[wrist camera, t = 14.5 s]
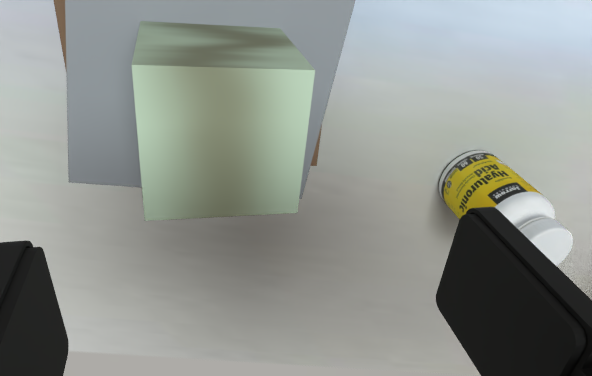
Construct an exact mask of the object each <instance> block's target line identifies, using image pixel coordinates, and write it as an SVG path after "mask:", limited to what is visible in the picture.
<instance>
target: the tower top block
mask: <svg viewBox="0 0 592 376" xmlns="http://www.w3.org/2000/svg"><path fill="white" fill-rule="evenodd" d="M354 4H355V0H65V20H66V70H67V120H68V169H69V182H72V183H86V184H100V185H114V186H128V187H142V182H141V171H140V159H139V147H138V135H137V123H136V112H135V100H134V88H133V76H132V60H133V55H134V51H135V46H136V41H137V36H138V31H139V26H140V21H149V22H168V23H187V24H206V25H226V26H245V27H264V28H280V29H281V30H282V31H283V32H284V34H285V35H286V36H287V37H288V38H289V39H290V41H291V42H292V43H293V44H294V45H295V47H296V48H297V49H298V50H299V51H300V53H301V54H302V55H303V56H304V57H305V59H306V60H307V61H308V62H309V63H310V65H311V66H312V67H313V68H314V69H315V76H314V84H313V92H312V100H311V108H310V116H309V124H308V132H307V140H306V148H305V156H304V164H303V172H302V180H301V188H300V196H299V199H301V198H302V195H303V191H304V187H305V183H306V180H307V176H308V172H309V169H310V165H311V161H312V158H313V154H314V150H315V147H316V143H317V139H318V136H319V132H320V128H321V125H322V121H323V117H324V114H325V110H326V106H327V103H328V99H329V95H330V92H331V88H332V84H333V81H334V77H335V73H336V70H337V66H338V62H339V59H340V55H341V51H342V48H343V44H344V40H345V37H346V33H347V29H348V26H349V22H350V18H351V15H352V11H353V7H354Z"/></svg>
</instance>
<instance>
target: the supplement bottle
mask: <svg viewBox="0 0 592 376" xmlns="http://www.w3.org/2000/svg"><path fill="white" fill-rule="evenodd" d="M439 192H440V195H441V197H442V199H443V200H444V202H445V203H446V204H447V206H448V207H449V208H450V209H451V210H452V211H453V212H454V214H455V215H456V216H457V217H458V218H459V219H460V218H461V217H462V216H463V215H465V214H466V212H467V211H468V210H469V209H471V208H479V207H495V208H496V209H498V210H499V211H500V212H501V213H502V214H503V215H504V216H505V217H506V218H507V219H508V220H509V221H510V222H511V223H512V224H513V225H514V226H515V227H516V228H518V229H519V230H520V231H521V232H522V233H523V234H524V235H525V236H526V237H527V238H528V239H529V240H530V241H531V242H532V243H533V244H534V245H535V246H536V247H537V248H538V249H539V250H540V251H541V252H542V253H543V254H544V255H545V256H546V257H547V258H548V259H549V260H551V261H552V262H553V263H554V264H555V265H556V266H558V265H559V264H560V263H561V262H562V261H563V260H564V259H565V258H566V257H567V255H568V254H569V252H570V250H571V248H572V245H573V237H572V234H571V233H570V232H569V231H568V230H567V229H566V228H565V227H564V226H563V225H562V224H561V223H560V222H559V221H557V220H555V211H554V208H553V206H552V204H551V203H550V202H549V200H548V199H546V198H545V197H544V196H543V195H542V194H541V193H540V192H538V191H537V190H536V189H535V188H533V187H532V186H531V185H530V184H529V183H527V182H526V181H525V180H524V179H523V178H521V177H520V176H519V175H518V174H517V173H515V172H514V171H513V170H512V169H510V168H509V167H508V166H507V165H506V164H504V163H503V162H502V161H501V160H499V159H498V158H497V157H495V156H494V155H493V154H491V153H489V152H486V151H480V150H479V151H471V152H467V153H465V154H463V155H461V156H459V157H458V158H456V159H455V160H454V161H452V162H451V163H450V164H449V165H448V167H447V168H446V169H445V171H444V172H443V174H442V176H441V179H440V182H439Z"/></svg>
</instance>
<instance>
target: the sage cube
mask: <svg viewBox="0 0 592 376" xmlns="http://www.w3.org/2000/svg"><path fill="white" fill-rule="evenodd" d="M132 76H133V88H134V100H135V112H136V123H137V135H138V147H139V159H140V171H141V182H142V194H143V206H144V218H145V221H151V220H170V219H190V218H210V217H229V216H249V215H268V214H288V213H297V212H298V204H299V196H300V188H301V180H302V172H303V164H304V156H305V148H306V140H307V132H308V124H309V116H310V108H311V100H312V92H313V84H314V76H315V69H314V68H313V67H312V66H311V65H310V63H309V62H308V61H307V60H306V59H305V57H304V56H303V55H302V54H301V53H300V51H299V50H298V49H297V48H296V47H295V45H294V44H293V43H292V42H291V41H290V39H289V38H288V37H287V36H286V35H285V34H284V32H283V31H282V30H281V29H280V28H264V27H245V26H226V25H206V24H187V23H168V22H149V21H140V26H139V31H138V36H137V41H136V46H135V51H134V55H133V60H132Z"/></svg>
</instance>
